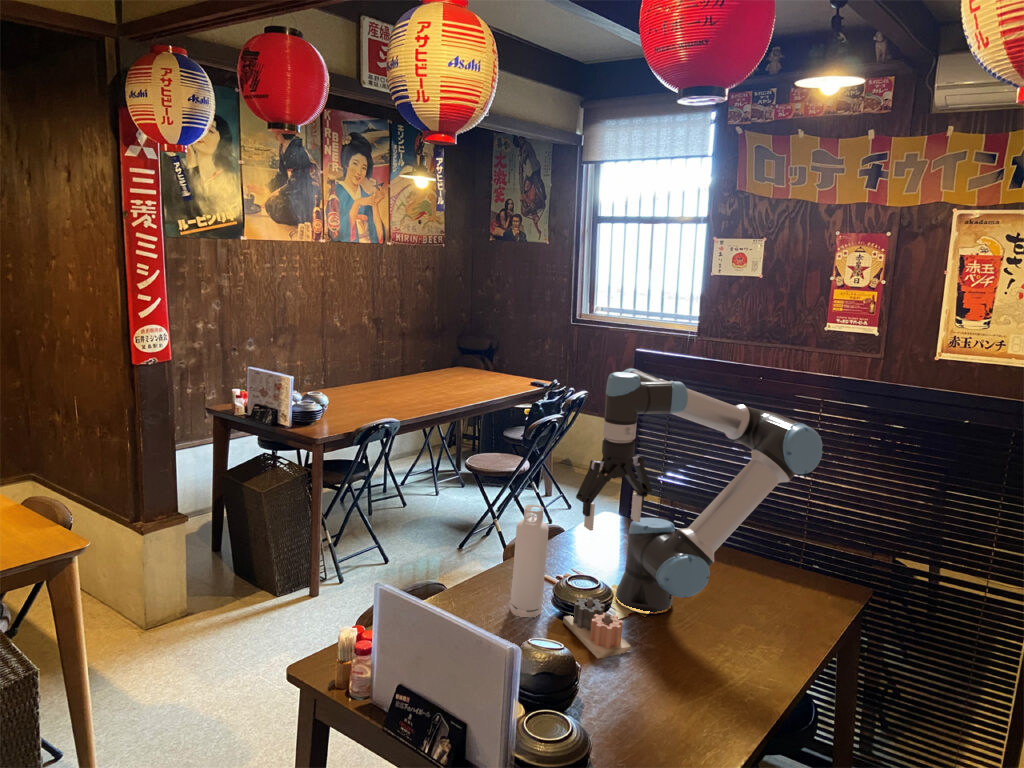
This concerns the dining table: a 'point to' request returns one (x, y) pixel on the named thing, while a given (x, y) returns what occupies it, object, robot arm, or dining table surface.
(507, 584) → the dining table surface
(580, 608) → the gear board
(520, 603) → the bottle
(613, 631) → the gear
